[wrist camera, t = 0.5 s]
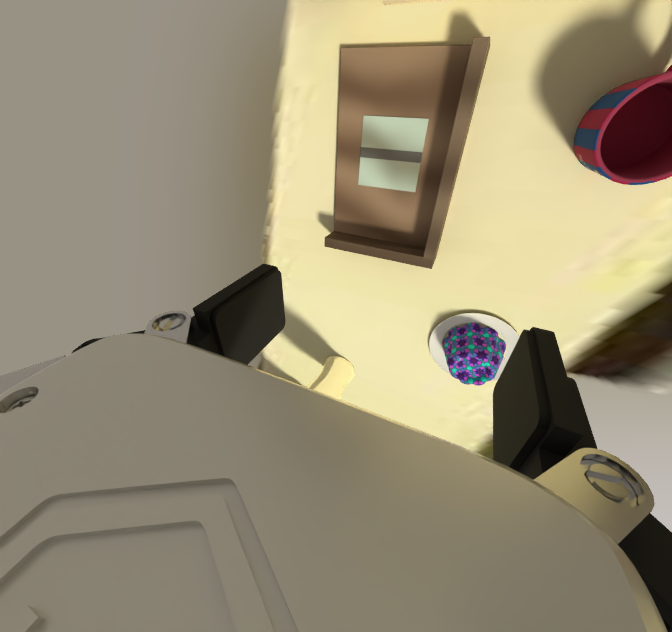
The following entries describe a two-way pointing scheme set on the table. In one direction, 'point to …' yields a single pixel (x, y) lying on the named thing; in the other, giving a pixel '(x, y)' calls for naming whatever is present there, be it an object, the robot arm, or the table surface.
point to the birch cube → (406, 1)
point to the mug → (630, 132)
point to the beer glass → (333, 377)
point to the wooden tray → (401, 145)
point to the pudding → (472, 347)
